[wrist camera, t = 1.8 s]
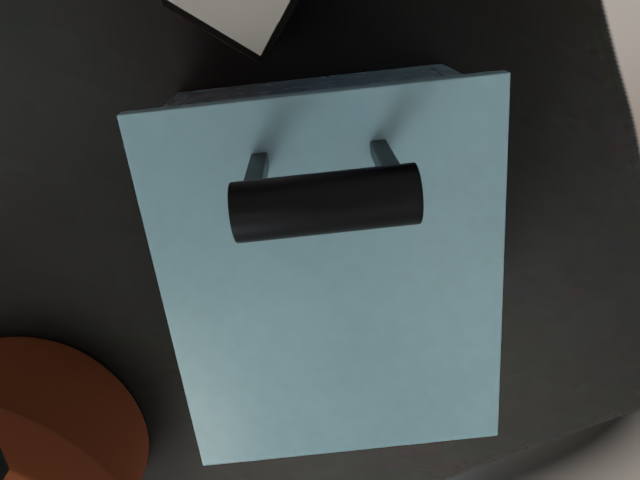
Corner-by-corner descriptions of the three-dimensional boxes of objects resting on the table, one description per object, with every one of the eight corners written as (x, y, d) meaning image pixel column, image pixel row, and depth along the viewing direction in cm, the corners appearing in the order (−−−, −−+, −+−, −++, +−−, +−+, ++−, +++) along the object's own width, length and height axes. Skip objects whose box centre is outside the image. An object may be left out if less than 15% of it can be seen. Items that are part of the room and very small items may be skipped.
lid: (121, 111, 24) (44, 163, 16) (504, 69, 23) (594, 103, 16) (204, 455, 31) (177, 592, 24) (493, 425, 31) (551, 554, 24)
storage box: (178, 92, 34) (127, 134, 24) (442, 63, 34) (503, 93, 24) (227, 341, 41) (205, 454, 31) (445, 318, 41) (493, 424, 31)
